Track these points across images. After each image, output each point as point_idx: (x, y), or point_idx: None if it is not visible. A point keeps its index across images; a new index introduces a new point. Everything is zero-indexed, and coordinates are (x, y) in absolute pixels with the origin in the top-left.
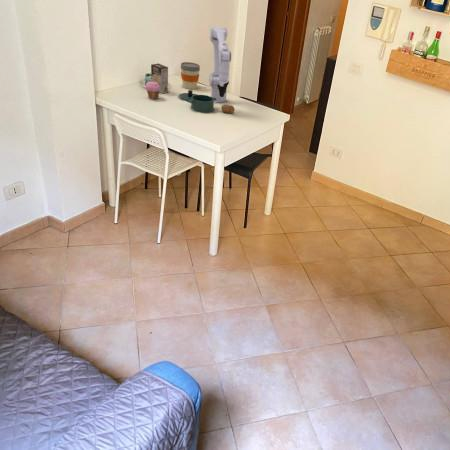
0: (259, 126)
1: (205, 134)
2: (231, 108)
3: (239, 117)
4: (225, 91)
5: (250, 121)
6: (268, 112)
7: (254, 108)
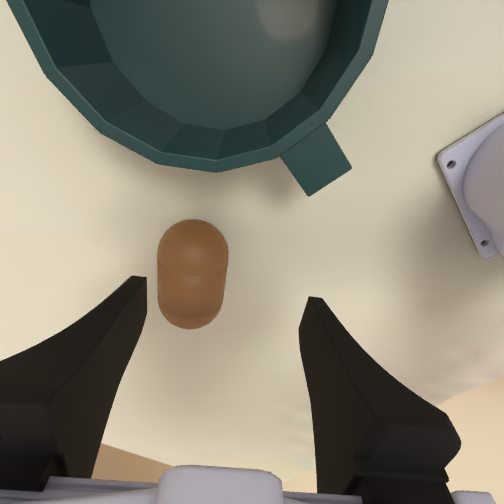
0: None
1: None
2: (161, 310)
3: None
4: (303, 356)
5: None
6: (288, 446)
7: None
